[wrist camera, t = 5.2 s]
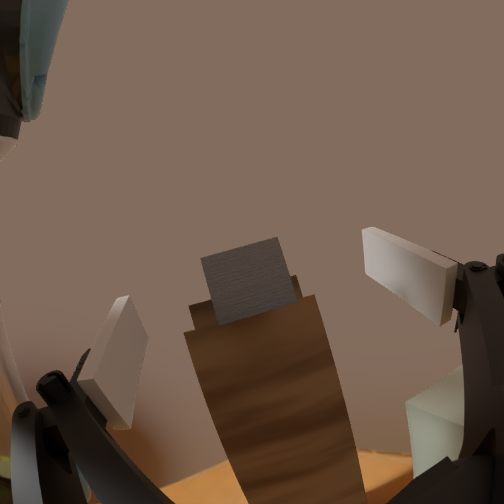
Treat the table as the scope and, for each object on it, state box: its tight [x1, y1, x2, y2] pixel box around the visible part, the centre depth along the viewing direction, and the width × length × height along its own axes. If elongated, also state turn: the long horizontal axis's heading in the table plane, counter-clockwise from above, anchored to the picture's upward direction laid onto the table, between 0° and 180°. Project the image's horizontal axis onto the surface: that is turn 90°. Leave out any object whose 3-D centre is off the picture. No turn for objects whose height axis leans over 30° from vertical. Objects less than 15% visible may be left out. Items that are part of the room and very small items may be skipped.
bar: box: [201, 237, 298, 326], centre depth 23 cm, size 22×4×3 cm, turn 3°
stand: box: [184, 275, 367, 504], centre depth 22 cm, size 10×10×32 cm
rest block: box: [405, 364, 464, 479], centre depth 11 cm, size 10×7×19 cm
